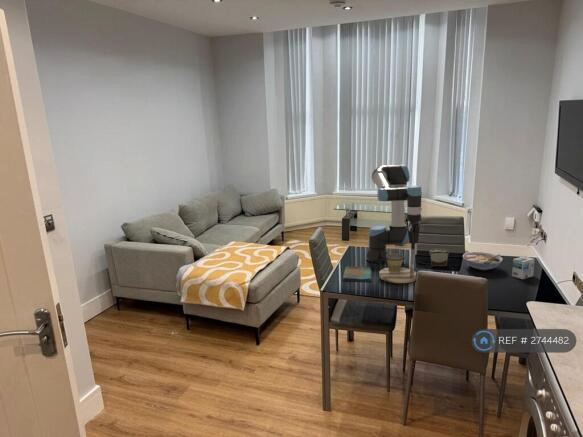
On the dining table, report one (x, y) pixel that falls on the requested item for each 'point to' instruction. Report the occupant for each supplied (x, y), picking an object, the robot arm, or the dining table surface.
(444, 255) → the food container
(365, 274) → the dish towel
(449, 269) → the dining table surface
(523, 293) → the dining table surface
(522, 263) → the light bulb box
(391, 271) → the ceramic cup
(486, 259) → the ramen bowl
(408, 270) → the turntable
